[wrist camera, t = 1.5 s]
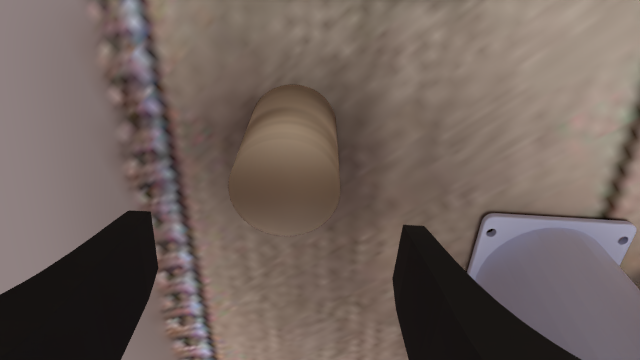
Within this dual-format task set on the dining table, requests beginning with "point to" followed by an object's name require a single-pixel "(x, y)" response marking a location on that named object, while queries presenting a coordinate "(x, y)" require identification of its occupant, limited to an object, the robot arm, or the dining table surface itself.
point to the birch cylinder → (287, 163)
